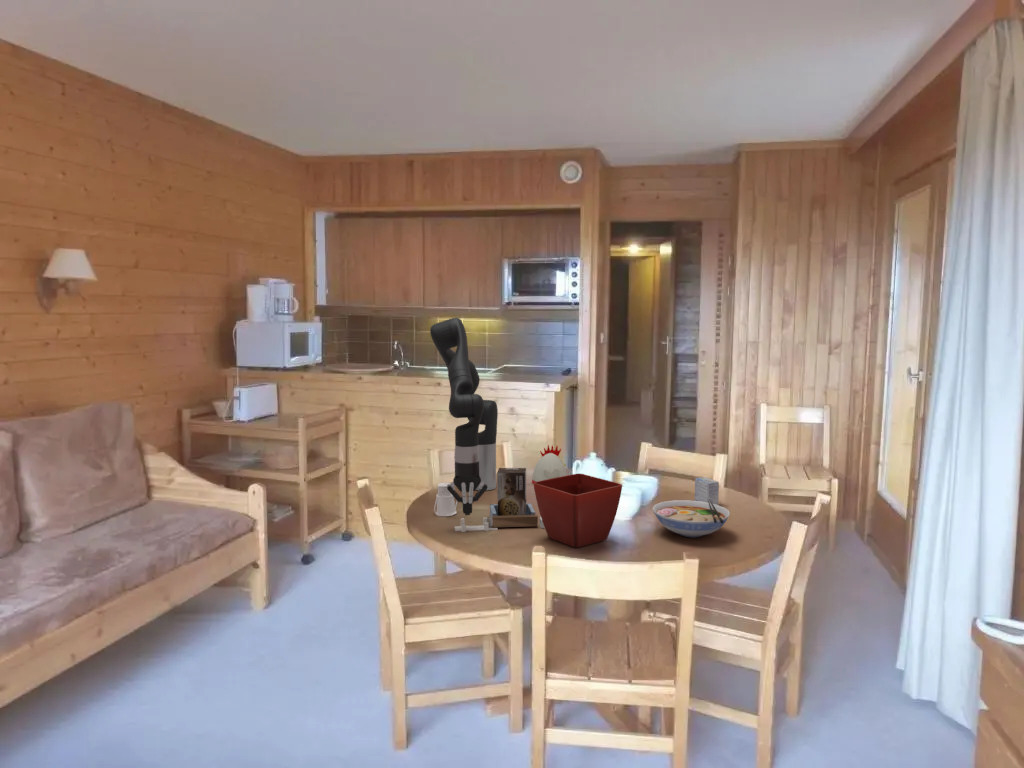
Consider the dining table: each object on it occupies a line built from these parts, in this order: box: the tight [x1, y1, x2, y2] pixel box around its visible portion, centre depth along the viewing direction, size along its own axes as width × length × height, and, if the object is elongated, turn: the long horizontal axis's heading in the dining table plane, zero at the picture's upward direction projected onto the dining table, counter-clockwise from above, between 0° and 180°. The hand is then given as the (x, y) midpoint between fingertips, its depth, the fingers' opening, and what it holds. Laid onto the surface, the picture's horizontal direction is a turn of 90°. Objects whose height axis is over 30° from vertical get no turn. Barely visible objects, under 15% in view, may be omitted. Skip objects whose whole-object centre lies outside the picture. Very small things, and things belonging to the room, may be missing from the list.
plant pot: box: [533, 473, 623, 548], centre depth 216 cm, size 19×19×17 cm
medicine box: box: [694, 476, 720, 505], centre depth 254 cm, size 8×4×9 cm, turn 22°
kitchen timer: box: [531, 444, 568, 486], centre depth 282 cm, size 14×14×15 cm
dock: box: [489, 502, 536, 518], centre depth 234 cm, size 10×13×4 cm
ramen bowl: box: [652, 499, 731, 538], centre depth 221 cm, size 25×23×8 cm
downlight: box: [433, 482, 458, 517], centre depth 242 cm, size 8×7×10 cm
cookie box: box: [496, 467, 527, 516], centre depth 234 cm, size 9×6×16 cm
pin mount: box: [454, 516, 545, 533], centre depth 227 cm, size 6×28×2 cm, turn 96°
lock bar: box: [486, 514, 539, 528], centre depth 227 cm, size 3×16×3 cm, turn 96°
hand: (467, 514), depth 226 cm, fingers closed
